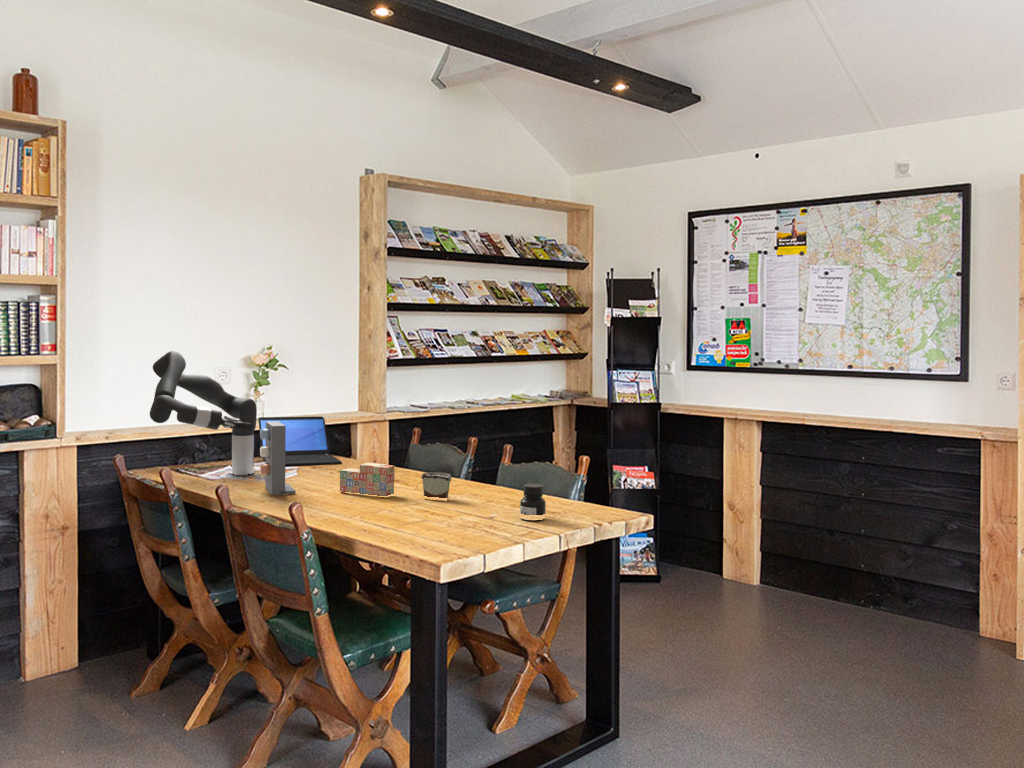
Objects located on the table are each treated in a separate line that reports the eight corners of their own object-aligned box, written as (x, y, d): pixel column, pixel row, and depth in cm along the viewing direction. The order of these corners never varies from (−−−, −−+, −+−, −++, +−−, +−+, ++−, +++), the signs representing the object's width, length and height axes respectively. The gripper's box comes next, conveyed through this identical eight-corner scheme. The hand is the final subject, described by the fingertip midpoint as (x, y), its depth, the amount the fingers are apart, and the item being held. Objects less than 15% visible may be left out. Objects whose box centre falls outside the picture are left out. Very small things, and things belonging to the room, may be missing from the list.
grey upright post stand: (265, 488, 355) (265, 421, 353) (288, 487, 359) (288, 420, 357) (271, 495, 341) (272, 426, 339) (295, 494, 344) (296, 425, 343)
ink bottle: (514, 517, 313) (515, 484, 312) (534, 515, 318) (535, 482, 317) (530, 523, 305) (531, 488, 304) (550, 520, 310) (551, 486, 309)
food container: (456, 499, 343) (456, 473, 343) (450, 502, 337) (450, 476, 337) (427, 496, 347) (427, 471, 347) (420, 499, 342) (421, 473, 341)
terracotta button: (260, 473, 348) (260, 463, 348) (270, 473, 350) (270, 463, 349) (261, 475, 344) (261, 465, 344) (272, 475, 346) (272, 465, 346)
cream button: (260, 456, 348) (260, 446, 347) (270, 455, 349) (270, 445, 349) (261, 457, 344) (261, 447, 344) (272, 457, 346) (272, 447, 345)
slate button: (260, 438, 347) (260, 428, 347) (270, 438, 349) (270, 428, 349) (261, 439, 344) (261, 429, 343) (272, 439, 345) (272, 429, 345)
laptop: (270, 468, 405) (271, 426, 404) (257, 456, 439) (257, 417, 438) (342, 464, 419) (343, 424, 418) (324, 453, 453) (324, 415, 452)
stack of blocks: (339, 493, 349) (339, 462, 349) (348, 490, 355) (348, 460, 354) (386, 498, 341) (386, 467, 340) (394, 496, 347) (394, 465, 346)
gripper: (200, 424, 340) (244, 433, 349) (207, 430, 329) (253, 439, 338) (205, 405, 340) (249, 414, 349) (213, 411, 329) (258, 420, 338)
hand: (251, 426), depth 344 cm, fingers closed
